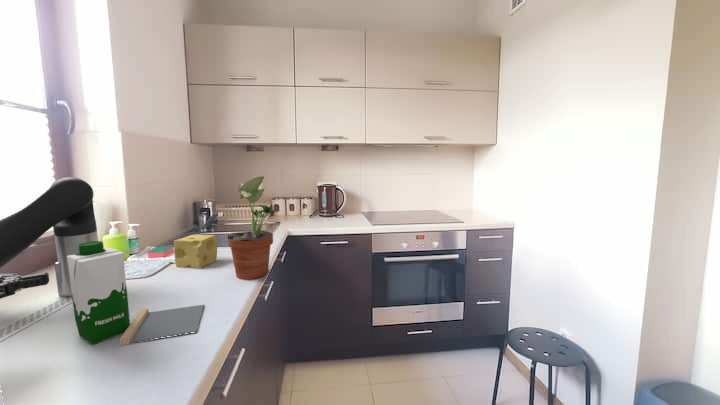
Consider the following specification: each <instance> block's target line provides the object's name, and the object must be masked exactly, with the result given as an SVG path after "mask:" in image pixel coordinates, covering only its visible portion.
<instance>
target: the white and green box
mask: <svg viewBox="0 0 720 405" xmlns="http://www.w3.org/2000/svg"><path fill="white" fill-rule="evenodd" d="M67 260H68V268H69V275H70V284H71V291H72V296H71V298H72V304H73V306H72V307H73V314H74V321H75V325H76V327H77V328H76V329H77V331H78V336H80V338H82V339H84V340H85V341H86V342H88V343H89V344H91V346H92V345H93V346H94V345H96V344H99V343H101V342H104V341H107V340H109V339H112V338H113V337H116V336H119V335H121V334H124V332H125V331H126V329H127V328H128V327H129V325H130V324H131V322H130V318H131V317H130V311H129V310H130V309H129V298H128V297H129V296H128V288H127V280H126V278H127V277H126V270H125V252H122V251H120V250H119V249H115V248H111V247H106V248H104V243H103V241H102V240H101V241H100V240H98V241H93V242H86V243H82V244H79V253H77V254H74V255H69V256H67Z"/></svg>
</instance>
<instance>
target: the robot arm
mask: <svg viewBox="0 0 720 405" xmlns="http://www.w3.org/2000/svg"><path fill="white" fill-rule="evenodd" d="M93 199H94V189H93V188H92V186H91V185H90V184H89V183H88V182H87V181H85V180H84V179H81V178H79V177H74V176H66V177H65V176H64V177H61V178H59V179H56V180H55V181H54V182H53V183H52V184H51V185H50V187H49V188H48V189H47V190H46V191H44V193H42V194H40V196H39V197H37V198H36V199H35V200H34V201H32V202H31V203H30V204H28V205H27V206H24V208H22V209H21V210H18V211H17V212H15V213H12V214H11V215H9V216H6V217H4V218H2V219H0V269H1V268H2V267H4V266H5V265H6V264H8V263H9V262H11V261H12V260H13V259H15V258H16V257H18V256H19V255H20V254H21V253H23V252H24V251H25V250H26V249H28V248H29V247H30V246H31V245H32V244H34V243H35V242H36V241H37V240H38V239H39V238H40V237H42V236H43V235H44V234H45V233H46V232H47V231H49V230H51V228H53V235H54V240H55V249H56V250H55V251H56V257H57V261H56V262H55V263H54V264H53V265H54V271H55V280H56V286H57V294H58V297H60V296H66V297H72V291H71V284H70V275H69V268H68V260H67V256H69V255H74V254H77V253H79V244H82V243H86V242H93V241H99V237H98V227H97V221H96V216H95V209H94V208H95V207H94V202H93ZM49 282H50V275H49V273H48V272H45V271H44V272H40V273H34V274H28V275H22V274H21V275H19V273H0V300H1V299H4V298H8V297H10V296H14V295H15V294H16V293H17V292H20V291H22V289H23V290H24V289H29V288H31V289H32V288H36V287H41V286H46V285H48V284H49Z"/></svg>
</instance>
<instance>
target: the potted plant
mask: <svg viewBox="0 0 720 405" xmlns="http://www.w3.org/2000/svg"><path fill="white" fill-rule="evenodd" d="M264 179H265V176H256V177H254V178H252V179H249V180H248V181H246V182H245V183H244V184H243V185H241V187H240V188H239V189H238V190H239V192H246V193H241V194H240V196H239V200H242V199H246V200H247V201H248V203H249V205H250V210H251V211H250V213H251V230H250V231H243V232H242V231H241V232H240V231H239V232H238V231H237V232H232V233H230V234H229V235H228V237H227V246H228V247H229V248H230V251H231V254H232V256H231V257H232V261H233V265H234V271H235V275H236V278H237V279H239V280H242V281H249V280H252V279H257V278H260V277H263V276H265V275H267V274H268V272H269V268H270V267H269V264H270V253H271V245H273V243H274V234H273V232H270V231H265V230H261V229H262V226H263V222H264V221H265V218H266V217H267V215H268V214H270V217H273V216H274V214H275V211H274V210H273V209H271V208H270V207H269V206H268V205H264V204H263V205H261V204H259V205H258V206H259V207H261V210H257V209H255V207H254V206H255V203H257V202H258V201H259V200H260V198H261V197H262V195H263V193H264V192H265V187H261V188H259V187H260V186H261V184H262V183H263V181H264ZM260 219H261V220H260ZM258 220H260V222H258ZM257 225H258V226H257Z"/></svg>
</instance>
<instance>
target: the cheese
mask: <svg viewBox="0 0 720 405" xmlns="http://www.w3.org/2000/svg"><path fill="white" fill-rule="evenodd" d="M173 251H174V252H173V253H174V262H175V266H176V268H189V267H190V268H192V269H202V268H203V267H205V266H207V265H209V264H211V263H215V262H216V261H217V258H218V257H217V256H218V241H217V236H216V234H209V235H208V234H191V235H188V236H185V237H182V238H178V239H175V240H173Z"/></svg>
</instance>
